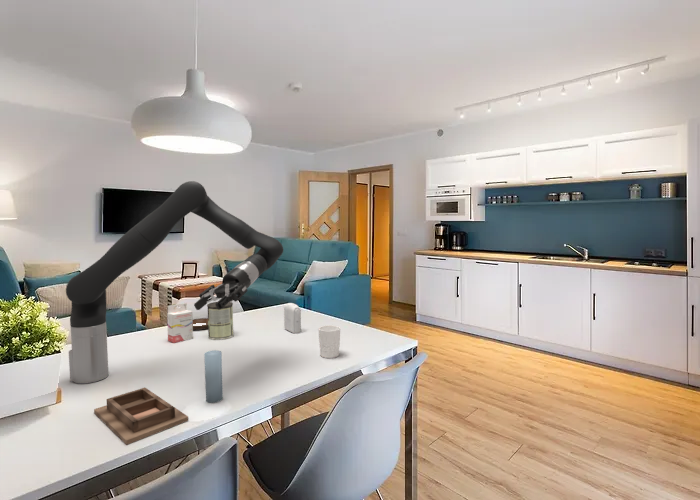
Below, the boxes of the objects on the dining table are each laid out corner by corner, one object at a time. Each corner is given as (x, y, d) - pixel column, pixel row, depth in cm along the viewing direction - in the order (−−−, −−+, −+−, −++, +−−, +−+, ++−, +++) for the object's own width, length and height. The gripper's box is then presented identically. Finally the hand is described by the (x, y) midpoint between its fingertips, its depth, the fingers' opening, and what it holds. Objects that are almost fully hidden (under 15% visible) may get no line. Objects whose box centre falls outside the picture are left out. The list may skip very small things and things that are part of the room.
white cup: (344, 355, 144) (344, 328, 143) (329, 360, 138) (329, 332, 137) (329, 350, 149) (329, 324, 148) (314, 355, 143) (314, 328, 143)
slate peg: (203, 402, 106) (201, 355, 105) (209, 395, 111) (208, 350, 110) (219, 402, 106) (218, 355, 105) (225, 395, 111) (223, 350, 110)
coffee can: (203, 336, 168) (202, 303, 167) (226, 331, 175) (225, 300, 174) (215, 341, 160) (214, 307, 159) (238, 336, 168) (237, 303, 167)
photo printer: (302, 332, 173) (302, 304, 172) (293, 334, 171) (293, 305, 170) (291, 327, 181) (291, 300, 181) (283, 329, 179) (282, 302, 178)
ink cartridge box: (173, 343, 158) (172, 307, 157) (167, 341, 161) (166, 305, 160) (193, 338, 165) (192, 303, 164) (187, 336, 168) (186, 302, 167)
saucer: (175, 329, 179) (175, 324, 179) (200, 322, 193) (199, 316, 193) (200, 333, 173) (200, 327, 173) (223, 325, 187) (223, 319, 187)
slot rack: (94, 413, 101) (93, 399, 101) (151, 394, 111) (150, 382, 111) (126, 444, 86) (125, 429, 86) (188, 420, 97) (188, 406, 97)
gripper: (220, 268, 126) (183, 296, 113) (254, 265, 119) (219, 295, 107) (229, 288, 129) (194, 318, 116) (263, 286, 122) (230, 318, 109)
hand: (206, 307), depth 111 cm, fingers open, 8 cm apart
